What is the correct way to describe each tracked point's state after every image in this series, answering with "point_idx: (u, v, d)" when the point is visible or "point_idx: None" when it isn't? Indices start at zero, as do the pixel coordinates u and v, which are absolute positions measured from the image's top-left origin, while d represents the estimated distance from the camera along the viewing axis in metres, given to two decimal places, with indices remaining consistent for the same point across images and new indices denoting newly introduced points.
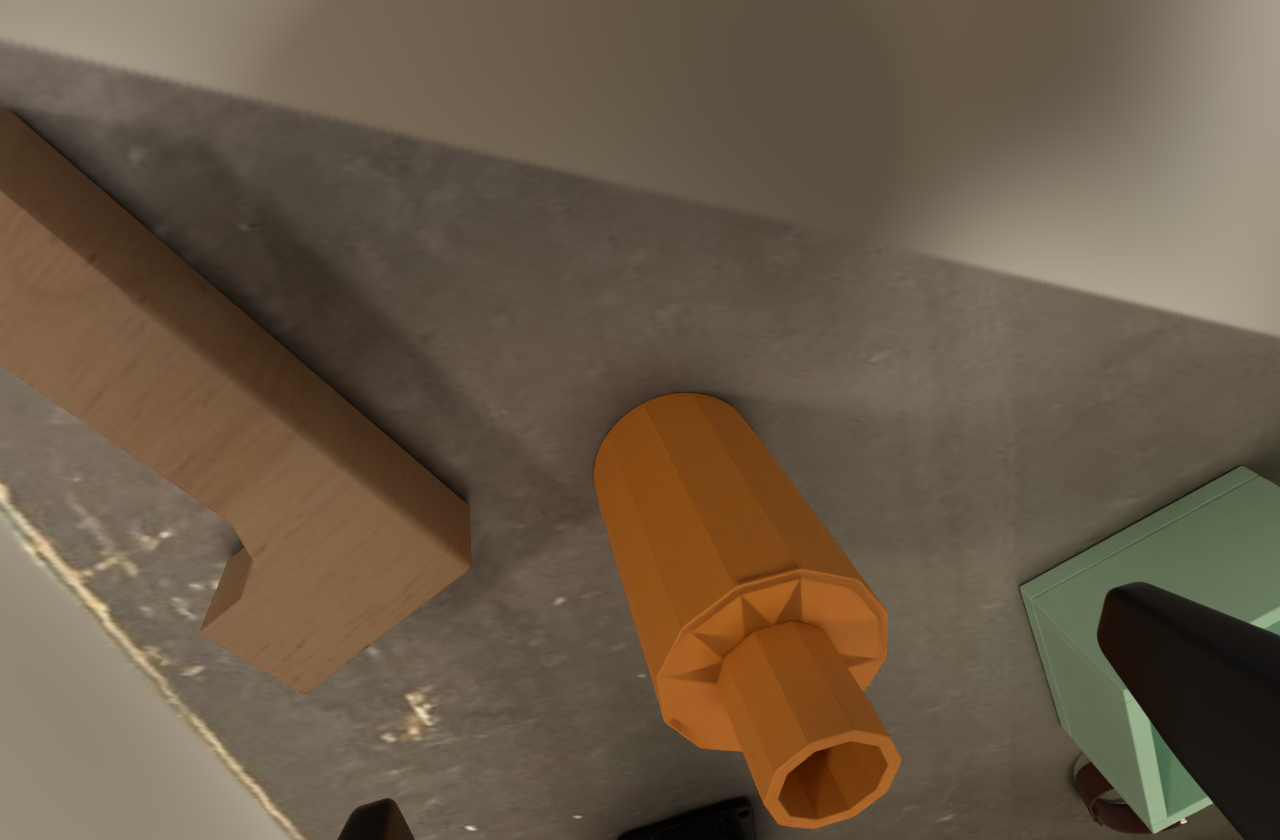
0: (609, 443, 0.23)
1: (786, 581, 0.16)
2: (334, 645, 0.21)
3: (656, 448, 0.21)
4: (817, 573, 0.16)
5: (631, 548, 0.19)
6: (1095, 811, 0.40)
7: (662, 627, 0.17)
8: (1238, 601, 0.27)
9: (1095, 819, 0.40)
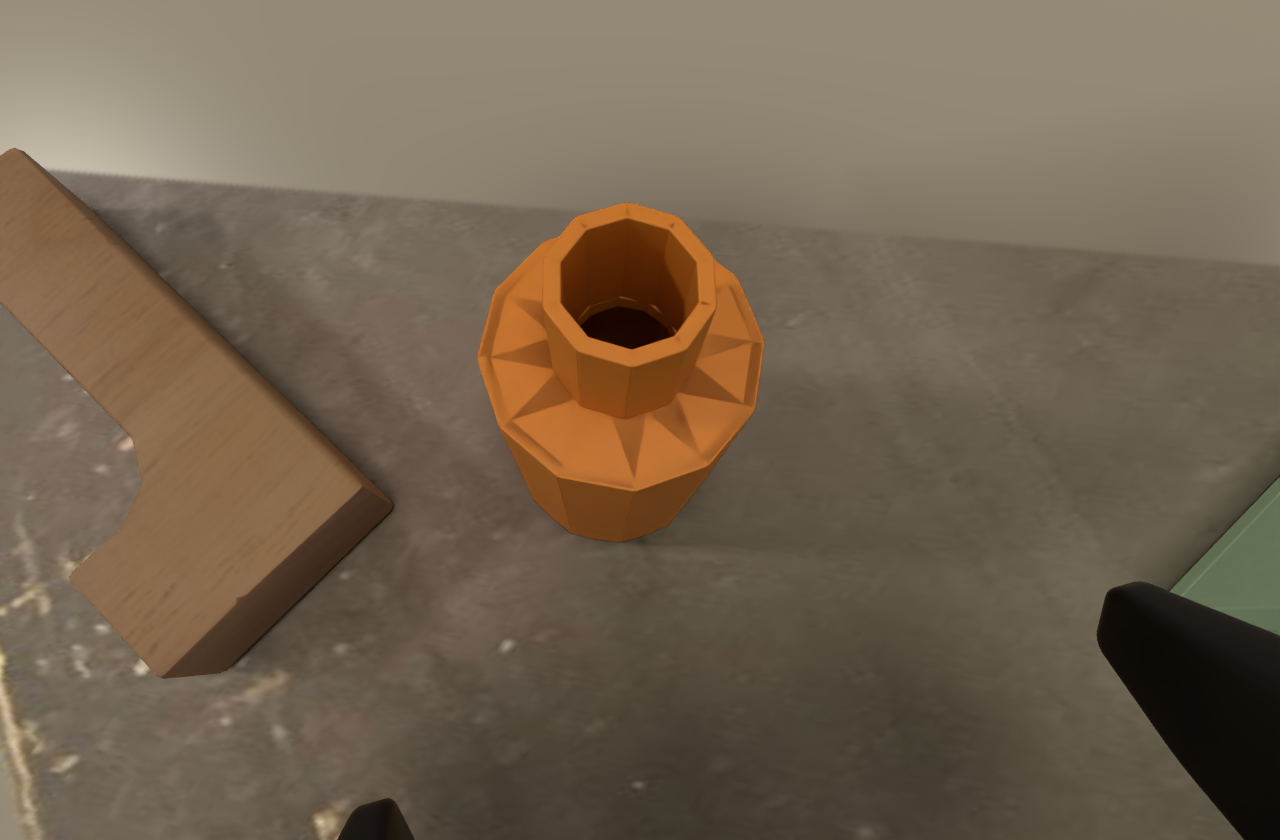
0: None
1: None
2: (204, 594, 0.18)
3: None
4: None
5: None
6: None
7: None
8: None
9: None
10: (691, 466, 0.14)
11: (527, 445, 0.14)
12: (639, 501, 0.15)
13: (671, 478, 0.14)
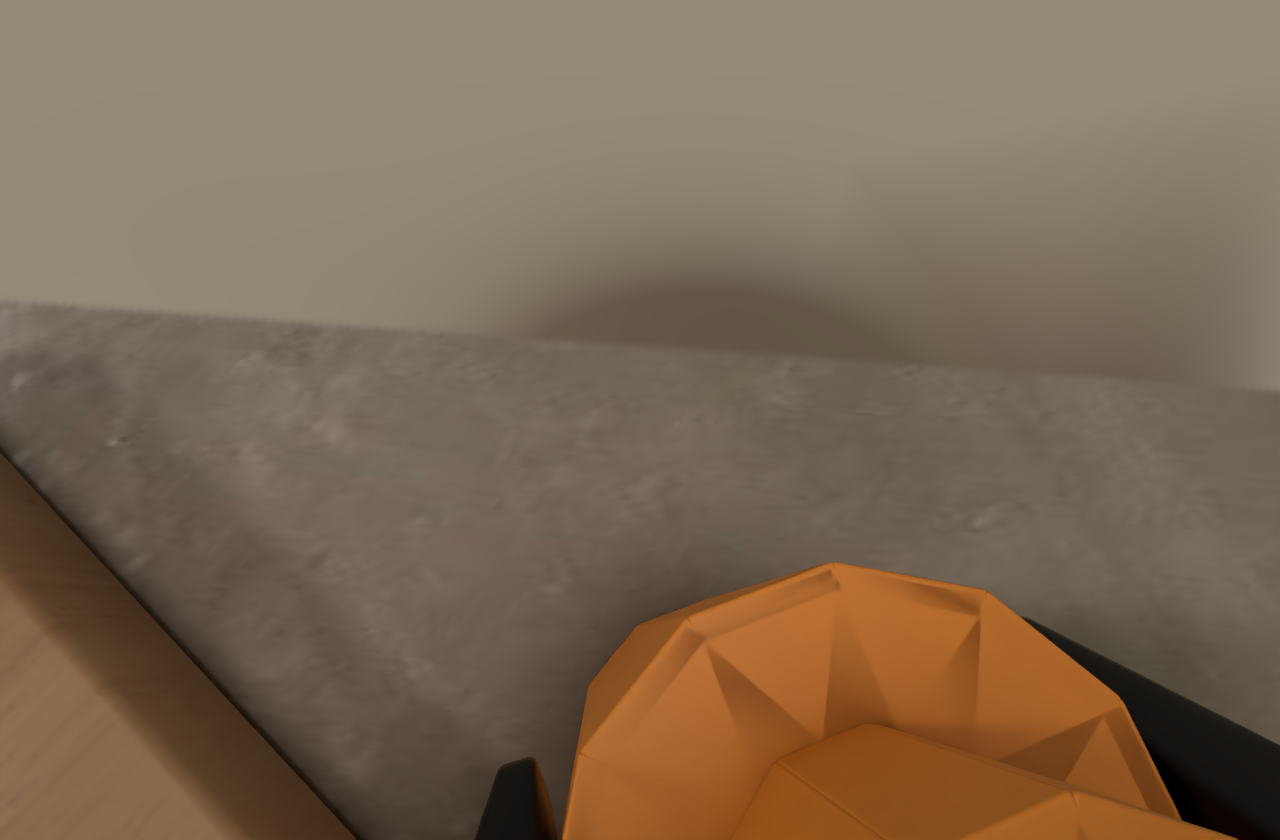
0: (587, 692, 0.14)
1: (806, 599, 0.07)
2: None
3: (634, 635, 0.13)
4: (874, 574, 0.07)
5: (573, 771, 0.10)
6: None
7: (566, 815, 0.07)
8: None
9: None
10: None
11: None
12: None
13: None
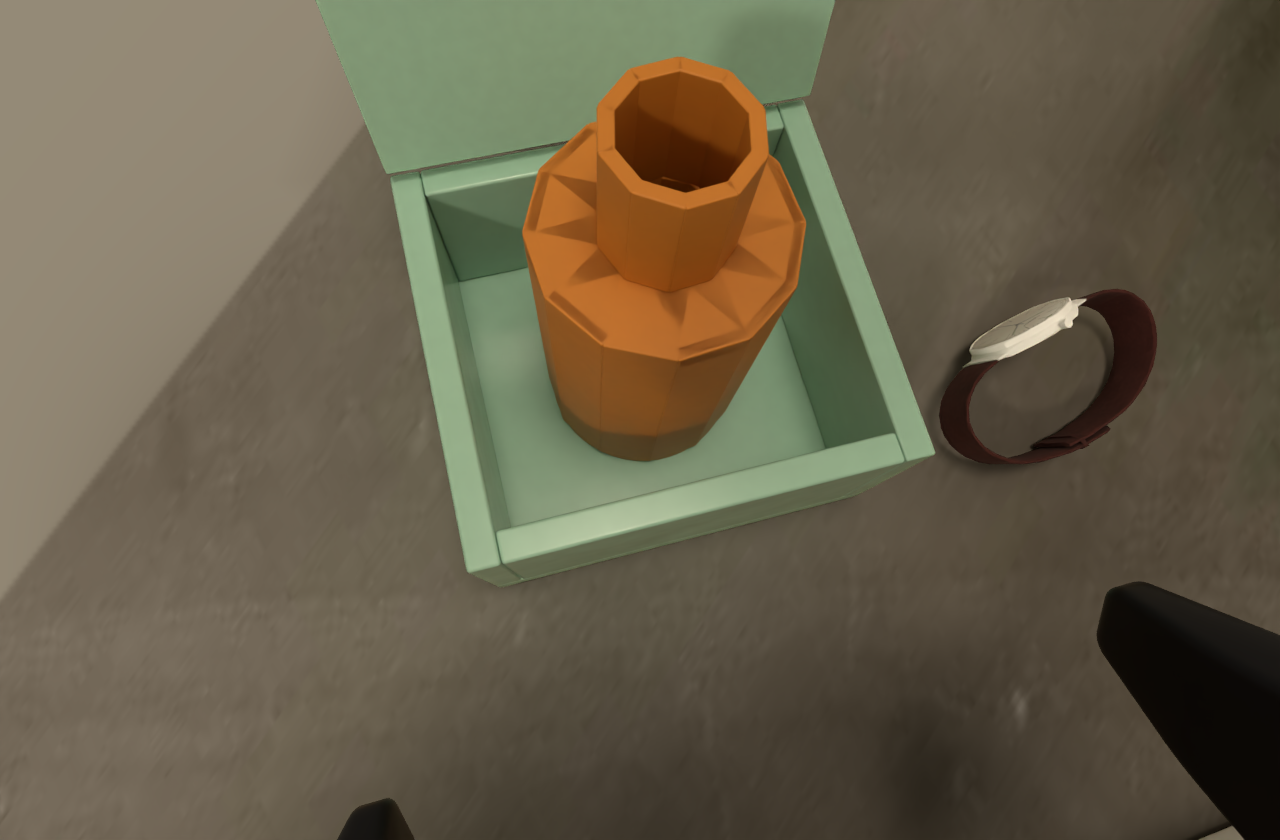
0: None
1: None
2: None
3: None
4: None
5: None
6: (1063, 443, 0.23)
7: None
8: None
9: (1081, 445, 0.23)
10: (734, 338, 0.14)
11: (572, 315, 0.14)
12: (679, 383, 0.15)
13: (715, 349, 0.14)
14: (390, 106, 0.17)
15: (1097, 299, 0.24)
